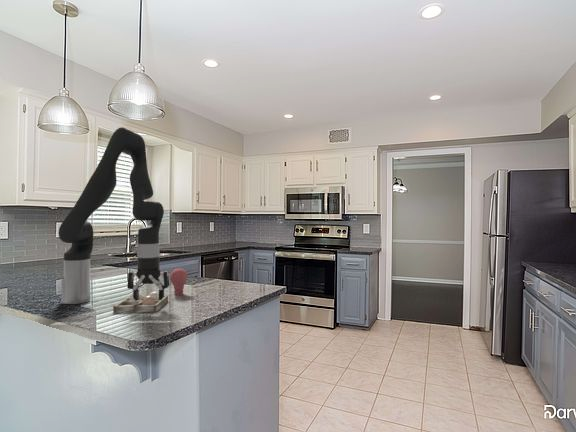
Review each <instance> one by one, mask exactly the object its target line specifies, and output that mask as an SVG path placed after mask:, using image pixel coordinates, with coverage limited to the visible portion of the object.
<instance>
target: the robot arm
mask: <svg viewBox="0 0 576 432" xmlns="http://www.w3.org/2000/svg"><path fill="white" fill-rule="evenodd" d="M146 149H147V148H146V144H145V140H144V138H143V136H141V135H140V134H139V133H137V132H134V131H132V130H131V129H129V128H126V127H122V126H121V127H118V128H117V129H115V131H114V132H113V134H112V135H111V137H110V139H109V141H108V143H107V146H106V149H105V150H104V152H103V155H102V156H101V158H100V161H99V162H98V164H97V166H96V168H95V170H94V172H93V173H92V175H91V176H90V178H89V180H88V181H87V183H86V184H85V187H84V188H83V191H82V193H81V194H80V195H79V198H78V199H77V200H76V203H74V206H73V207H72V208H71V210H70V212H69V213H68V214H67V215H66V217H65V218H64V220H63V221H62V222H61V224H60V226H59V228H58V238H59V239H60V240H61V242H63V243H65V244H71V246H70V248H69V249H68V250H67V251H65V252H64V253H63V278H62V279H61V282H60V283H61V285H60V286H61V291H60V292H61V302H60V303H61V304H65V305H77V304H85V303H87V302H89V301H91V300H92V299H91V294H92V293H91V287H92V286H91V281H92V279H91V254H92V252H93V247H94V229H93V225H92V223H91V222H90V221H88V220H89V218H90V216H91V215H92V214H93V213H95V212H96V211H97V210H98V209H99V208H100V207H102V206H103V205H104V204H105V203H106V202H107V201H108V199H110V198H111V195H112V194H113V191H114V190H115V188H116V186H117V171H116V170H117V169H116V167H117V162H118V160H119V158H120V156H121V154H122V153H123V154H125V155H128V156H129V157H131V160H132V163H133V167H132V169H131V171H130V174H129V183H130V187H131V191H132V199H133V201H132V202H133V203H132V215H133V217H134V219H136V220H137V221H140V222H141V221H150V222H149V224H148V225H146V226H144V227H140V228H138V232H137V236H138V237H137V242H138V243H137V253H136V256H137V257H136V258H137V261H136V262H137V271H130V272H128V274H127V286H126V287H127V289H128V290H132V293H133V298H134V299H135V301H137V300H139V292H140V290H139V288H140V287H141V285H142V284H143V285H146V284H149V285H152V284H154V285H155V286H156V287H157V288H158V292H159V300H162V298H164V296H165V289H168V288H169V287H170V276H169V275H170V274H169V271H168V270H165V271H160V266H161V265H160V260H161V259H160V252H161V251H160V243H159V242H160V236H159V235H160V234H159V233H160V228H161V224H162V221H163V218H164V214H165V213H164V212H165V211H164V210H165V209H164V206H163V204H162V203H161V202H159V201H147V200H149V199H151V198H152V197H153V195H154V190H153V186H152V182H151V180H150V176H149V171H148V163H147V160H148V159H147V152H146ZM160 276H161V277H162V278H163V283H162V281H161V279H160ZM136 277H137V279H138V281H136V283H135V284H134V280H135V279H134V278H136Z"/></svg>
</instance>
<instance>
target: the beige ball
mask: <svg viewBox="0 0 576 432" xmlns="http://www.w3.org/2000/svg"><path fill="white" fill-rule="evenodd" d="M145 296H146V297H144V298H143V300H142V305H155V304H156V300H155V298H154V297H153V296H149V295H145Z"/></svg>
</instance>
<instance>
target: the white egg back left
mask: <svg viewBox="0 0 576 432" xmlns="http://www.w3.org/2000/svg"><path fill="white" fill-rule="evenodd" d="M129 296H130V298H129V300H130V301H135V299H134V298H133V292H131V294H130V295H129ZM143 296H144V295H143V293H142V292H140V291H139V300H143Z"/></svg>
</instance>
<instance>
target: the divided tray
mask: <svg viewBox="0 0 576 432" xmlns="http://www.w3.org/2000/svg"><path fill="white" fill-rule="evenodd" d="M146 296H147V295H143V298H144V297H146ZM129 298H130V295H129V296H128V297H126V298H124V299H123V300H121V301H120V302H118V303H116V304H115V305H113V307H112V308H113V309H112V311H113V314H115V313H118V314H120V313H123V314H124V313H150V312H151V313H156V312H157V311H159V310H160V309H161V308H162V307H163V306H164V305H166V304H167V303H168V301H169V295H164V298H162V300H156V304H155V305H142V300H137V301H130V300H129Z"/></svg>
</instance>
